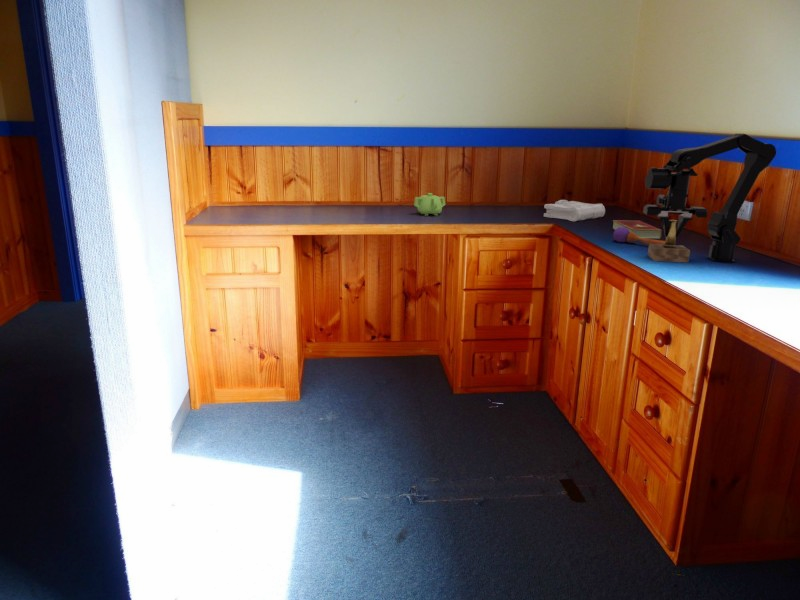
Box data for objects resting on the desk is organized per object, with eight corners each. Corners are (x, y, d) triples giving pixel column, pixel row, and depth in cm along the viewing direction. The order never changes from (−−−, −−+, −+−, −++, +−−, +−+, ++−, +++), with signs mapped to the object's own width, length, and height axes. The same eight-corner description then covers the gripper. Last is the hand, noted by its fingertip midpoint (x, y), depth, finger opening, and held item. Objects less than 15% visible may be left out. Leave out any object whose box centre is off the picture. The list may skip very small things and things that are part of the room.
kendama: (662, 240, 218) (611, 227, 232) (660, 256, 221) (609, 242, 234) (670, 235, 222) (619, 223, 235) (668, 251, 225) (617, 237, 238)
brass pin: (673, 243, 207) (677, 220, 205) (675, 245, 204) (679, 221, 202) (664, 243, 208) (667, 219, 205) (666, 245, 205) (670, 221, 202)
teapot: (445, 214, 286) (446, 192, 283) (436, 217, 276) (437, 195, 273) (422, 212, 291) (423, 191, 288) (412, 215, 281) (413, 193, 278)
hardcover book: (639, 229, 262) (640, 220, 261) (660, 239, 242) (662, 229, 241) (611, 229, 262) (612, 219, 261) (630, 239, 242) (632, 228, 240)
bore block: (681, 257, 210) (683, 245, 209) (688, 262, 203) (690, 250, 202) (647, 255, 212) (649, 243, 211) (653, 260, 204) (655, 248, 203)
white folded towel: (610, 217, 292) (612, 201, 290) (576, 223, 274) (578, 205, 272) (575, 212, 306) (577, 197, 304) (541, 217, 288) (542, 201, 286)
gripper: (700, 187, 207) (693, 233, 212) (642, 185, 209) (636, 231, 214) (711, 191, 197) (703, 240, 201) (650, 189, 199) (643, 237, 203)
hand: (671, 237), depth 205 cm, fingers closed on brass pin, 3 cm apart
